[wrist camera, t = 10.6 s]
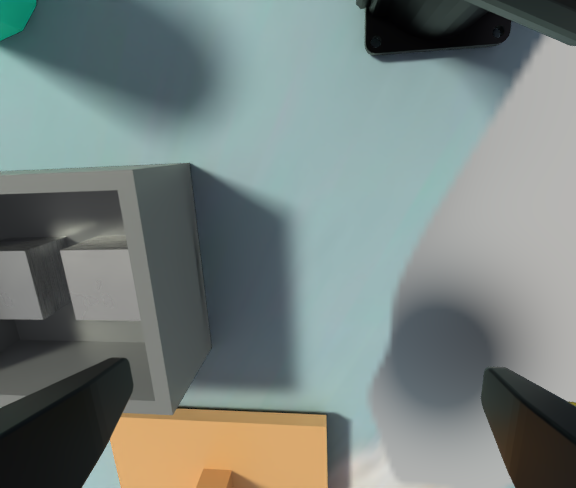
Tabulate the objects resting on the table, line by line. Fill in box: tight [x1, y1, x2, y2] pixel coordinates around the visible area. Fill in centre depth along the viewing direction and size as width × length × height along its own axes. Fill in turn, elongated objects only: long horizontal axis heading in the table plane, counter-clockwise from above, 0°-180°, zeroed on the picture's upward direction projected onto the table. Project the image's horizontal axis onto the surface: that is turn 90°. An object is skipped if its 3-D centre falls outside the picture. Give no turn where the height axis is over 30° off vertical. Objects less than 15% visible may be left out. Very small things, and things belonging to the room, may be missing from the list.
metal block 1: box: [0, 237, 72, 320], centre depth 20 cm, size 4×4×3 cm
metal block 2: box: [60, 235, 141, 321], centre depth 19 cm, size 4×4×3 cm
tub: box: [0, 163, 212, 415], centre depth 19 cm, size 14×12×6 cm
